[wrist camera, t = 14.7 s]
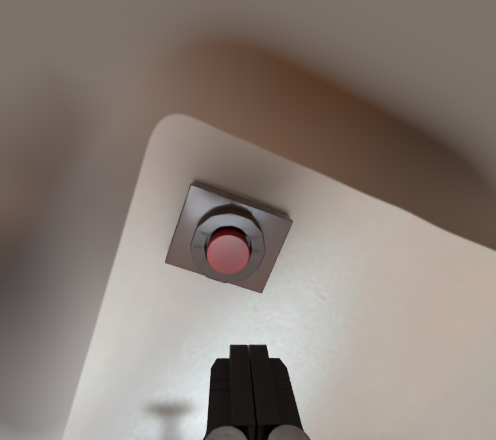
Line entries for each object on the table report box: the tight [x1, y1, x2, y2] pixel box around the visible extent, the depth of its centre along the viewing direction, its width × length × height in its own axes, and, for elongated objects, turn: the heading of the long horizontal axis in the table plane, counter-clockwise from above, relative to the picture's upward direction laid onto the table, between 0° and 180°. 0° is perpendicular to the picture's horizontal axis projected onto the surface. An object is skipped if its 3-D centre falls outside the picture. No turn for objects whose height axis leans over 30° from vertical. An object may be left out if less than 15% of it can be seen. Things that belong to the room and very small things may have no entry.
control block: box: [165, 181, 293, 293], centre depth 28 cm, size 10×8×4 cm
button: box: [207, 229, 249, 274], centre depth 26 cm, size 4×4×2 cm
